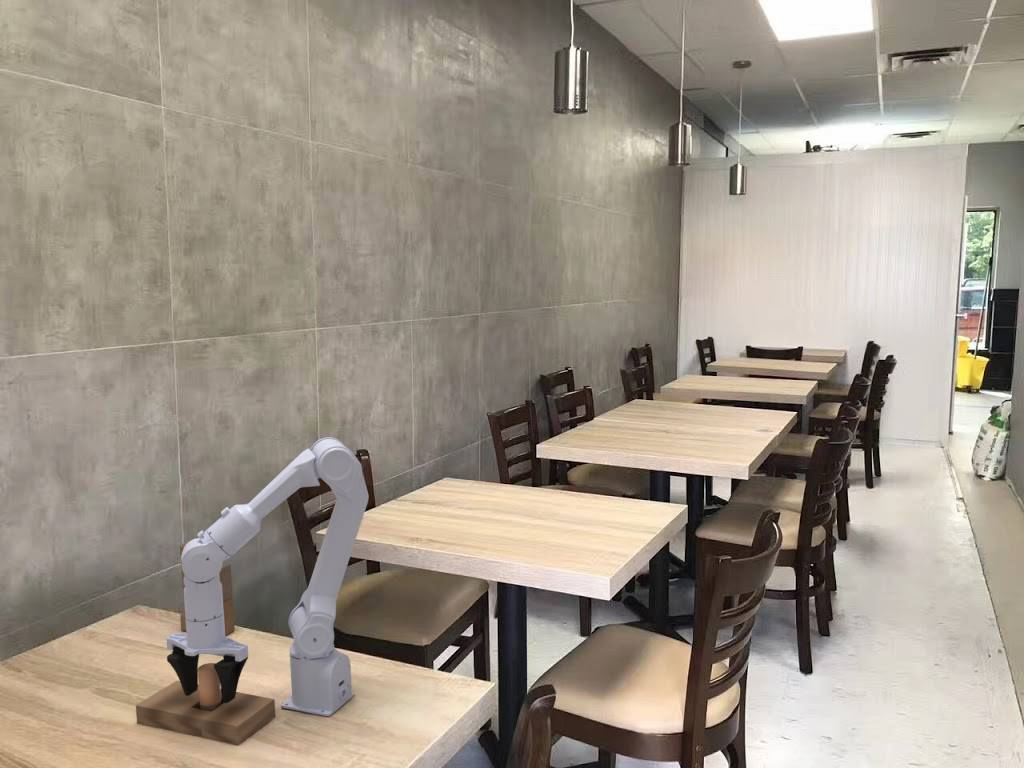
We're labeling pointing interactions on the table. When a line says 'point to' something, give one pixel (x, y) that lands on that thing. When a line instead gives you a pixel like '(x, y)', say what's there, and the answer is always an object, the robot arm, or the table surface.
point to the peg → (209, 687)
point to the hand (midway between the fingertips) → (210, 696)
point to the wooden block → (227, 597)
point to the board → (206, 714)
